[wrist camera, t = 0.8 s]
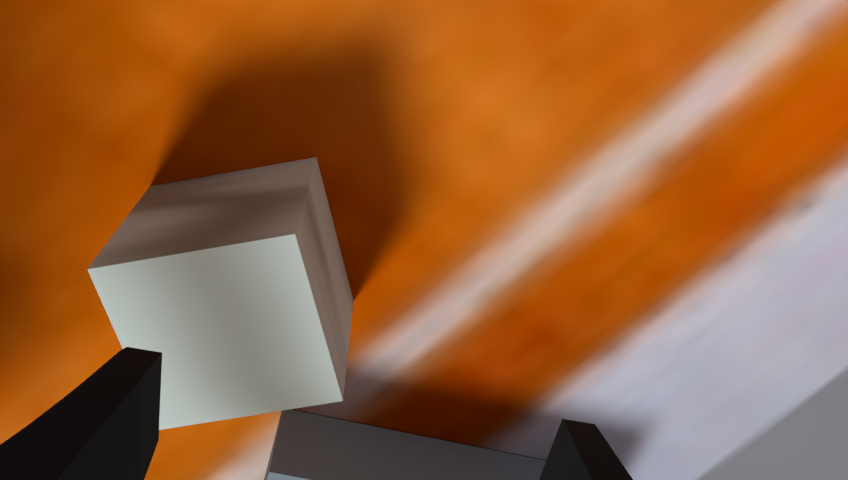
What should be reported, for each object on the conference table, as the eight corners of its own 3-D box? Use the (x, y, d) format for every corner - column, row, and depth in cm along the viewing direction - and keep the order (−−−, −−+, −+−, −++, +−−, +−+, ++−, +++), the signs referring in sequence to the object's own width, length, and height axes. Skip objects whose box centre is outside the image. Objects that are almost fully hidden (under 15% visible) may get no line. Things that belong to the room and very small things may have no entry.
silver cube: (203, 324, 24) (159, 429, 20) (150, 185, 22) (87, 269, 17) (353, 299, 24) (343, 400, 19) (316, 156, 21) (295, 233, 17)
